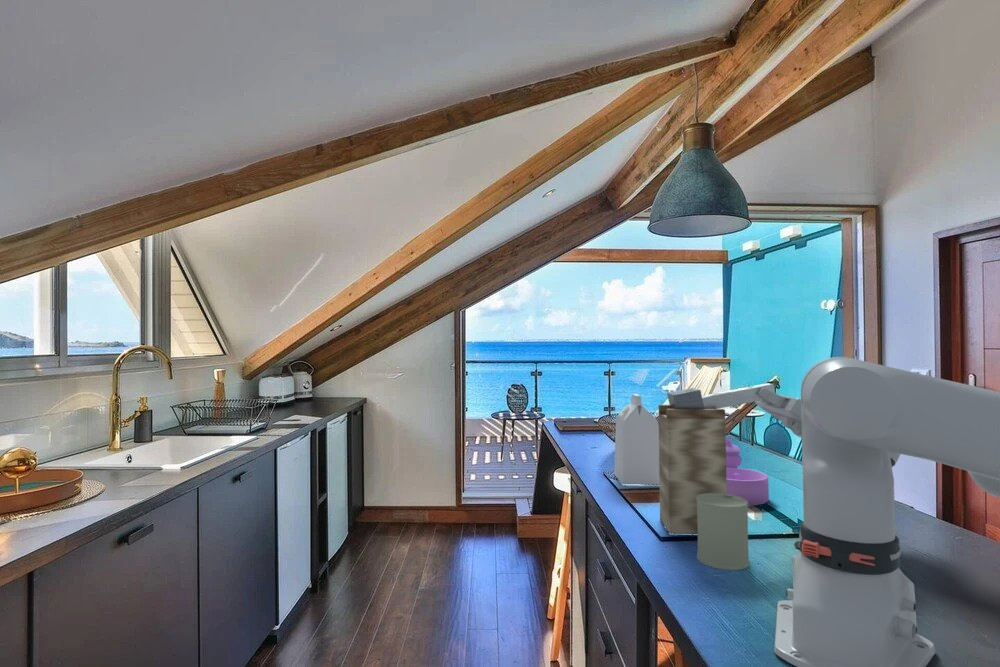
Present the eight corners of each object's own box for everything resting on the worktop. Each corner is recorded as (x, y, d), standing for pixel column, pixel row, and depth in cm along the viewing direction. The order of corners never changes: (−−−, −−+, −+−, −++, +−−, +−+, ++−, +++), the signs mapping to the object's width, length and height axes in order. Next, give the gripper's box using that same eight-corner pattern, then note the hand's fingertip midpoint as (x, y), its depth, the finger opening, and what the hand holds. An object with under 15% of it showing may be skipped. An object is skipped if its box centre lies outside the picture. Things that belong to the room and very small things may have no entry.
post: (712, 521, 123) (710, 404, 124) (727, 536, 113) (725, 409, 114) (660, 520, 124) (658, 404, 125) (669, 535, 114) (667, 409, 115)
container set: (775, 508, 133) (774, 455, 133) (710, 504, 137) (709, 452, 137) (754, 483, 157) (753, 438, 158) (699, 480, 161) (698, 436, 161)
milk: (662, 486, 154) (661, 396, 155) (622, 486, 155) (621, 396, 155) (651, 476, 166) (650, 393, 167) (614, 476, 167) (613, 393, 167)
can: (756, 559, 101) (755, 496, 101) (739, 575, 94) (738, 507, 95) (708, 547, 107) (707, 487, 108) (688, 561, 101) (688, 497, 101)
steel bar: (767, 395, 121) (763, 374, 121) (779, 398, 115) (774, 375, 115) (671, 414, 123) (666, 392, 123) (677, 417, 117) (673, 395, 117)
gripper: (830, 442, 107) (767, 407, 108) (784, 426, 127) (732, 398, 129) (845, 415, 107) (783, 380, 108) (798, 404, 127) (745, 375, 129)
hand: (755, 390), depth 119 cm, fingers closed on steel bar, 3 cm apart
